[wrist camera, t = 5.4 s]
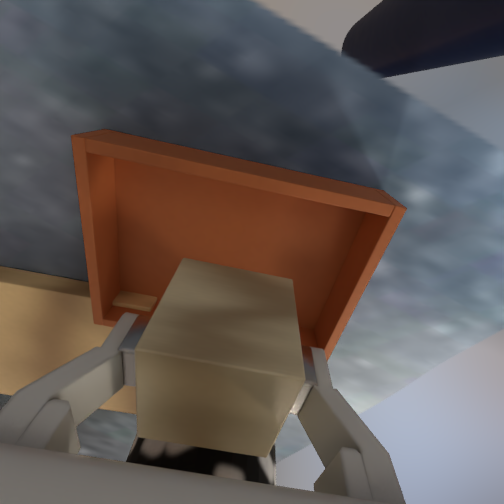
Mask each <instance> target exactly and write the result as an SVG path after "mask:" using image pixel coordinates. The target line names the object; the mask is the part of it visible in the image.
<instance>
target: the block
mask: <svg viewBox="0 0 504 504" xmlns="http://www.w3.org/2000/svg"><path fill="white" fill-rule="evenodd" d="M135 379H136V413H137V436H138V437H140V438H146V439H153V440H159V441H165V442H171V443H177V444H184V445H190V446H196V447H202V448H209V449H215V450H221V451H227V452H233V453H240V454H246V455H252V456H258V457H264V458H266V457H267V456H268V454H269V452H270V450H271V448H272V446H273V444H274V442H275V440H276V438H277V436H278V434H279V432H280V430H281V428H282V426H283V424H284V422H285V420H286V418H287V416H288V414H289V412H290V410H291V408H292V406H293V404H294V402H295V400H296V398H297V396H298V394H299V392H300V390H301V388H302V386H303V384H304V382H305V380H306V378H305V371H304V363H303V356H302V348H301V340H300V333H299V325H298V318H297V310H296V303H295V295H294V287H293V280H292V279H288V278H283V277H278V276H273V275H268V274H263V273H258V272H253V271H248V270H243V269H238V268H233V267H228V266H223V265H218V264H213V263H208V262H203V261H198V260H193V259H188V258H183V259H182V261H181V263H180V264H179V266H178V268H177V270H176V272H175V274H174V276H173V278H172V279H171V281H170V283H169V285H168V287H167V289H166V291H165V293H164V295H163V296H162V298H161V300H160V302H159V304H158V306H157V308H156V310H155V311H154V313H153V315H152V317H151V319H150V321H149V323H148V325H147V327H146V328H145V330H144V332H143V334H142V336H141V338H140V340H139V342H138V343H137V345H136V347H135Z"/></svg>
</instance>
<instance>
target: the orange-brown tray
mask: <svg viewBox="0 0 504 504" xmlns="http://www.w3.org/2000/svg"><path fill="white" fill-rule="evenodd" d="M71 141H72V149H73V157H74V165H75V174H76V182H77V190H78V198H79V206H80V215H81V223H82V231H83V239H84V247H85V256H86V264H87V272H88V280H89V288H90V296H91V305H92V313H93V321H94V324H97V325H104V326H108V327H114V326H115V325H116V324H117V322H118V321H119V319H120V318H121V316H122V315H123V314H124V313H125V312H129V313H133V314H138V315H144V316H149V317H152V315H153V313H154V311H155V310H156V308H157V306H158V304H159V302H160V300H161V298H162V296H163V295H164V293H165V291H166V289H167V287H168V285H169V283H170V281H171V279H172V278H173V276H174V274H175V272H176V270H177V268H178V266H179V264H180V263H181V261H182V259H183V258H188V259H193V260H198V261H203V262H208V263H213V264H218V265H223V266H228V267H233V268H238V269H243V270H248V271H253V272H258V273H263V274H268V275H273V276H278V277H283V278H288V279H292V280H293V287H294V295H295V303H296V310H297V318H298V325H299V333H300V340H301V345H305V346H309V347H315V348H321V349H323V350H324V351H325V356H326V360H327V361H328V359H329V357H330V355H331V353H332V351H333V349H334V347H335V345H336V343H337V342H338V340H339V338H340V336H341V334H342V332H343V330H344V328H345V326H346V324H347V322H348V320H349V319H350V317H351V315H352V313H353V311H354V309H355V307H356V305H357V303H358V301H359V299H360V297H361V296H362V294H363V292H364V290H365V288H366V286H367V284H368V282H369V280H370V278H371V276H372V274H373V273H374V271H375V269H376V267H377V265H378V263H379V261H380V259H381V257H382V255H383V253H384V251H385V250H386V248H387V246H388V244H389V242H390V240H391V238H392V236H393V234H394V232H395V230H396V228H397V227H398V225H399V223H400V221H401V219H402V217H403V215H404V213H405V211H406V209H407V208H406V207H405V206H403V205H402V204H401V203H399V202H398V201H397V200H395V199H394V198H393V197H391V196H390V195H389V194H387V193H386V192H385V191H384V190H379V189H375V188H370V187H366V186H361V185H357V184H352V183H347V182H343V181H338V180H334V179H329V178H325V177H320V176H316V175H311V174H307V173H302V172H298V171H293V170H289V169H284V168H280V167H275V166H271V165H266V164H261V163H257V162H252V161H248V160H243V159H239V158H234V157H230V156H225V155H221V154H216V153H212V152H207V151H203V150H198V149H194V148H189V147H185V146H180V145H175V144H171V143H166V142H162V141H157V140H153V139H148V138H144V137H139V136H135V135H130V134H126V133H121V132H117V131H112V130H108V129H102V130H97V131H91V132H86V133H80V134H75V135H71ZM120 290H121V291H127V292H132V293H138V294H143V295H149V296H154V297H157V301H156V303H155V305H154V307H153V309H152V311H151V312H148V311H142V310H137V309H131V308H126V307H120V306H114V305H113V300H114V299H115V298H116V296H117V295H118V294H119V292H120Z"/></svg>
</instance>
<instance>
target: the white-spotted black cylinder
mask: <svg viewBox="0 0 504 504" xmlns="http://www.w3.org/2000/svg"><path fill="white" fill-rule="evenodd" d="M126 462H129V463H135V464H142V465H148V466H154V467H161V468H167V469H174V470H180V471H186V472H193V473H199V474H205V475H212V476H218V477H225V478H231V479H237V480H244V481H250V482H257V483H263V484H269V485H276V461H275V442H274V444H273V446H272V448H271V450H270V452H269V454H268V456H267V457H266V458H264V457H258V456H252V455H246V454H240V453H233V452H227V451H221V450H215V449H209V448H202V447H196V446H190V445H184V444H177V443H171V442H165V441H159V440H153V439H146V438H140V437H138V436H137V434H136V437H135V440H134V442H133V445H132V448H131V450H130V453H129V455H128V458H127V461H126Z"/></svg>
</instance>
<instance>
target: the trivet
mask: <svg viewBox="0 0 504 504" xmlns="http://www.w3.org/2000/svg"><path fill="white" fill-rule="evenodd" d="M156 301H157V297H154V296H149V295H143V294H138V293H132V292H127V291H121V290H120V292H119V294H118V295H117V296H116V298H115V299H114V300H113V305H114V306H120V307H126V308H131V309H137V310H142V311H148V312H151V311H152V309H153V307H154V305H155V303H156ZM113 328H114V327H108V326H104V325H97V324H94V321H93V313H92V305H91V296H90V288H89V282H85V281H80V280H74V279H69V278H63V277H58V276H52V275H47V274H41V273H36V272H31V271H25V270H20V269H14V268H9V267H3V266H0V394H6V395H14V394H15V392H16V391H17V390H19V389H21V388H23V387H25V386H26V385H28V384H30V383H32V382H34V381H35V380H37V379H39V378H41V377H43V376H44V375H46V374H48V373H50V372H51V371H53V370H55V369H57V368H59V367H60V366H62V365H64V364H66V363H68V362H69V361H71V360H73V359H75V358H76V357H78V356H80V355H82V354H84V353H85V352H87V351H89V350H91V349H93V348H94V347H101V346H102V344H103V343H104V341H105V340H106V338H107V337H108V335H109V334H110V332H111V331H112V329H113ZM99 409H105V410H112V411H118V412H125V413H132V414H137V413H136V387H133V386H126V385H124V387H123V388H122V389H120V390H119V391H118V392H117V393H116V394H114V395H113V396H112V397H111V398H110V399H109V400H107V401H106V402H105V403H104V404H103V405H101V406H100V407H99Z"/></svg>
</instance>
